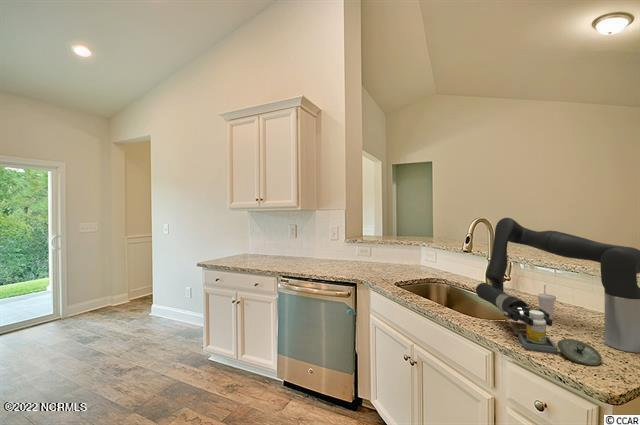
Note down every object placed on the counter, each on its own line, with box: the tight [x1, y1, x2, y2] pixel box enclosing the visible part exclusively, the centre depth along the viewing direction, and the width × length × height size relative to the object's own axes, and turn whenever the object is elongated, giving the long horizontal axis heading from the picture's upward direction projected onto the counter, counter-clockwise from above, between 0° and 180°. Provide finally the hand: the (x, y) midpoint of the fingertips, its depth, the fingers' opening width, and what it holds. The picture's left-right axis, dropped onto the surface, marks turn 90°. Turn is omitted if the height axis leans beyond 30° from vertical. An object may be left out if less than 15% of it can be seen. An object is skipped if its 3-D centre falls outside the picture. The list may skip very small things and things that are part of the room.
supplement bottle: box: [526, 309, 547, 344], centre depth 101 cm, size 5×5×10 cm
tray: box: [518, 333, 559, 355], centre depth 101 cm, size 9×9×2 cm
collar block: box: [510, 321, 527, 336], centre depth 112 cm, size 8×8×2 cm
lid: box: [557, 338, 603, 366], centre depth 92 cm, size 11×10×5 cm
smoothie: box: [536, 284, 557, 321], centre depth 125 cm, size 6×6×14 cm
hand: (541, 323), depth 98 cm, fingers closed on supplement bottle, 5 cm apart
